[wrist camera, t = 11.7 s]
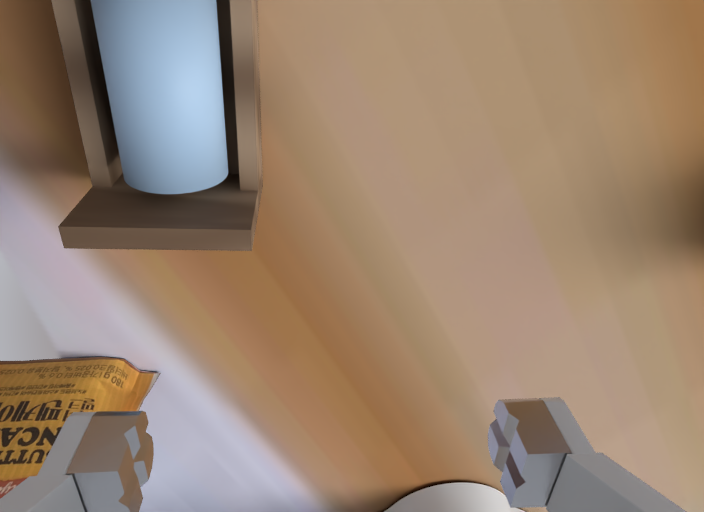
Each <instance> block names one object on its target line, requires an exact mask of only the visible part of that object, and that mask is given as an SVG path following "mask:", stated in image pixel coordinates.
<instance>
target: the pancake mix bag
mask: <svg viewBox="0 0 704 512" xmlns="http://www.w3.org/2000/svg"><path fill="white" fill-rule="evenodd" d="M159 375H160V373H156V372H147V371H140V370H138V369H137V368H136V367H134V366H133V365H132V364H130V363H129V362H128V361H126V360H125V359H118V358H108V357H89V358H61V359H43V360H30V361H0V499H1V498H2V497H3V496H4V495H6V494H7V493H8V492H10V491H11V490H12V489H14V488H15V487H16V486H18V485H19V484H20V483H21V482H23V481H24V480H25V479H27V478H28V477H29V476H37V474H38V473H39V471H40V469H41V467H42V465H43V463H44V461H45V459H46V457H47V455H48V453H49V452H50V450H51V448H52V446H53V444H54V442H55V440H56V438H57V436H58V434H59V433H60V431H61V429H62V427H63V425H64V423H65V421H66V419H67V418H68V417H69V416H70V415H71V414H72V413H73V412H97V411H139V409H140V407H141V405H142V403H143V401H144V398H145V397H146V396H147V394H148V393H149V391H150V390H151V388H152V387H153V385H154V383H155V382H156V380H157V378H158V377H159Z"/></svg>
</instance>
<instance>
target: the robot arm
mask: <svg viewBox="0 0 704 512" xmlns="http://www.w3.org/2000/svg"><path fill="white" fill-rule="evenodd" d="M494 414H495V416H496V418H497V419H496V420H495V421H494V422H492V423H491V424H490V427H489V432H488V447H489V451H490V456H491V458H492V461H493V464H494V465H495V466H496V467H497V468H498V469H499V470H501V471H502V472H503V474H502V477H501V481H500V482H501V485H502V488H503V490H504V493H505V495H506V496H505V495H504V494H503V493H501V492H500V491H498V490H496V489H494V488H492V487H489V486H486V485H482V484H476V483H447V484H441V485H436V486H431V487H428V488H425V489H422V490H419V491H416V492H414V493H412V494H410V495H408V496H406V497H404V498H402V499H401V500H399V501H398V502H396V503H395V504H394V505H393V506H391V507H390V508H389V509H387V510H386V511H384V512H525V511H523V510H521V509H518V507H546V509H547V510H548V511H549V512H686V511H685V510H683V509H682V508H680V507H679V506H678V505H676V504H675V503H673V502H672V501H670V500H669V499H668V498H666V497H665V496H663V495H662V494H660V493H659V492H658V491H656V490H655V489H653V488H652V487H650V486H649V485H647V484H646V483H645V482H643V481H642V480H640V479H639V478H637V477H636V476H635V475H633V474H632V473H630V472H629V471H627V470H626V469H625V468H623V467H622V466H620V465H619V464H617V463H616V462H614V461H613V460H612V459H610V458H609V457H607V456H606V455H604V454H603V453H596V452H595V451H594V449H593V448H592V446H591V444H590V443H589V441H588V439H587V438H586V436H585V434H584V433H583V431H582V429H581V428H580V426H579V425H578V423H577V421H576V420H575V418H574V416H573V415H572V413H571V411H570V410H569V408H568V407H567V405H566V403H565V402H564V400H562V399H561V398H560V397H558V398H539V399H538V398H529V399H505V400H498V401H497V403H496V404H495V408H494ZM147 425H148V419H147V415H146V412H143V411H97V412H73V413H72V414H71V415H70V416H69V417H68V418H67V419H66V421H65V423H64V425H63V427H62V429H61V431H60V433H59V434H58V436H57V438H56V440H55V442H54V444H53V446H52V448H51V450H50V452H49V453H48V455H47V457H46V459H45V461H44V463H43V465H42V467H41V469H40V471H39V473H38V474H37V476H29V477H28V478H27V479H25V480H24V481H23V482H21V483H20V484H19V485H18V486H16V487H15V488H14V489H12V490H11V491H10V492H8V493H7V494H6V495H4V496H3V497H2V498H1V499H0V512H139V509H140V506H141V503H142V499H143V497H142V493H141V489H140V487H141V486H142V485H143V484H144V483H145V482H147V481H148V479H149V476H150V472H151V469H152V462H153V441H152V436H150V435H149V434H148V433H146V428H147Z"/></svg>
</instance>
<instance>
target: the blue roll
mask: <svg viewBox="0 0 704 512" xmlns="http://www.w3.org/2000/svg"><path fill="white" fill-rule="evenodd" d="M91 6H92V11H93V16H94V22H95V27H96V32H97V38H98V43H99V48H100V54H101V59H102V64H103V70H104V75H105V80H106V86H107V91H108V96H109V102H110V107H111V112H112V118H113V123H114V128H115V134H116V139H117V144H118V150H119V155H120V160H121V166H122V171H123V176H124V180H125V182H126V183H127V184H128V185H129V186H131V187H132V188H135V189H137V190H140V191H144V192H149V193H156V194H183V193H191V192H196V191H201V190H205V189H208V188H211V187H213V186H215V185H217V184H219V183H221V182H222V181H223V180H224V179H225V178H226V177H227V176H228V161H227V147H226V133H225V118H224V104H223V89H222V75H221V61H220V46H219V32H218V18H217V3H216V0H91Z"/></svg>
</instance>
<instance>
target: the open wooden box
mask: <svg viewBox="0 0 704 512" xmlns="http://www.w3.org/2000/svg"><path fill="white" fill-rule="evenodd" d="M51 1H52V6H53V10H54V15H55V19H56V24H57V28H58V33H59V37H60V42H61V46H62V51H63V55H64V60H65V64H66V69H67V73H68V78H69V82H70V87H71V91H72V96H73V100H74V105H75V109H76V114H77V118H78V123H79V127H80V132H81V136H82V141H83V146H84V150H85V155H86V159H87V164H88V168H89V173H90V177H91V182H92V186H93V187H92V188H91V189H90V190H89V191H88V193H87V194H86V195H85V196H84V197H83V198H82V200H81V201H80V202H79V203H78V204H77V205H76V207H75V208H74V209H73V210H72V211H71V212H70V214H69V215H68V216H67V217H66V218H65V219H64V221H63V222H62V223H61V224H60V225H59V226H58V227H59V231H60V235H61V238H62V242H63V246H64V248H83V249H156V250H228V251H252V247H253V241H254V235H255V229H256V223H257V217H258V211H259V205H260V199H261V193H262V187H263V180H262V146H261V112H260V77H259V43H258V9H257V0H216V3H217V18H218V32H219V46H220V61H221V75H222V89H223V104H224V118H225V133H226V147H227V161H228V176H227V177H226V178H225V179H224V180H223V181H222V182H221V183H219V184H217V185H215V186H213V187H211V188H208V189H205V190H201V191H196V192H191V193H183V194H156V193H149V192H144V191H140V190H137V189H135V188H132V187H131V186H129V185H128V184H127V183H126V182H125V180H124V176H123V171H122V166H121V160H120V155H119V150H118V144H117V139H116V134H115V128H114V123H113V118H112V112H111V107H110V102H109V96H108V91H107V86H106V80H105V75H104V70H103V64H102V59H101V54H100V48H99V43H98V38H97V32H96V27H95V22H94V16H93V11H92V6H91V0H51Z"/></svg>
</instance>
